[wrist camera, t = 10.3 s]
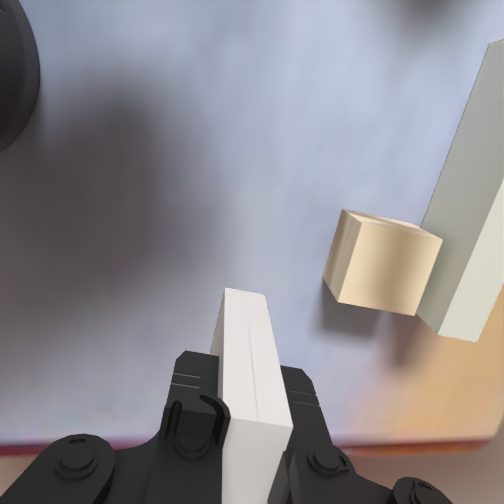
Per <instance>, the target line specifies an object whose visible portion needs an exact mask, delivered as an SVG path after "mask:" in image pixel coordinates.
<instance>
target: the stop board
mask: <svg viewBox="0 0 504 504" xmlns="http://www.w3.org/2000/svg"><path fill="white" fill-rule="evenodd" d="M421 229H423V230H425V231H427V232H429V233H431V234H433V235H435V236H436V237H438V238H440V239H442V240H443V241H442V244H441V247H440V249H439V252H438V255H437V257H436V260H435V263H434V265H433V268H432V271H431V273H430V276H429V278H428V281H427V284H426V286H425V289H424V292H423V294H422V297H421V300H420V302H419V305H418V308H417V310H416V314H417V315H418V316H419V317H420V318H421V319H422V320H423V321H424V322H425V323H426V324H427V325H428V326H429V327H430V328H431V329H432V330H433V331H434V332H435V333H436V334H437V335H442V336H447V337H452V338H457V339H462V340H467V341H473V342H477V340H478V338H479V336H480V334H481V331H482V329H483V327H484V325H485V323H486V321H487V318H488V316H489V314H490V312H491V310H492V308H493V305H494V303H495V301H496V299H497V297H498V294H499V292H500V290H501V288H502V286H503V284H504V39H502V40H499V41H496V42H493V43H490V44H489V47H488V49H487V52H486V55H485V57H484V60H483V63H482V65H481V68H480V71H479V73H478V76H477V79H476V81H475V84H474V87H473V89H472V92H471V95H470V97H469V100H468V103H467V105H466V108H465V111H464V113H463V116H462V119H461V121H460V124H459V127H458V129H457V132H456V135H455V137H454V140H453V143H452V145H451V148H450V151H449V153H448V156H447V159H446V161H445V164H444V167H443V169H442V172H441V175H440V178H439V180H438V183H437V186H436V188H435V191H434V194H433V196H432V199H431V202H430V204H429V207H428V210H427V212H426V215H425V218H424V220H423V223H422V226H421Z"/></svg>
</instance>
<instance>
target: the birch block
mask: <svg viewBox="0 0 504 504" xmlns="http://www.w3.org/2000/svg"><path fill="white" fill-rule="evenodd" d="M442 241H443V240H442V239H440V238H438V237H436V236H435V235H433V234H431V233H429V232H427V231H425V230H423V229H421V228H419V227H417V226H415V225H413V224H411V223H407V222H402V221H397V220H392V219H388V218H383V217H378V216H373V215H369V214H364V213H359V212H354V211H350V210H345V209H342V212H341V215H340V219H339V222H338V226H337V229H336V232H335V236H334V239H333V243H332V246H331V250H330V253H329V257H328V260H327V264H326V267H325V270H324V274H323V277H322V278H323V279H324V281H325V282H326V284H327V286H328V287H329V289H330V290H331V292H332V294H333V295H334V297H335V298H336V300H337V302H340V303H345V304H351V305H357V306H362V307H368V308H373V309H379V310H384V311H390V312H395V313H401V314H406V315H412V316H415V313H416V310H417V308H418V305H419V302H420V300H421V297H422V294H423V292H424V289H425V286H426V284H427V281H428V278H429V276H430V273H431V271H432V268H433V265H434V263H435V260H436V257H437V255H438V252H439V249H440V247H441V244H442Z"/></svg>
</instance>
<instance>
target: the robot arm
mask: <svg viewBox="0 0 504 504" xmlns="http://www.w3.org/2000/svg"><path fill="white" fill-rule="evenodd" d="M38 82H39V64H38V55H37V49H36V44H35V40H34V36H33V33H32V30H31V26H30V24H29V21H28V19H27V16H26V14H25V12H24V10H23V8H22V6H21V4H20V2H19V0H0V152H1V151H2V150H4V149H5V148H6V147H7V146H9V145H10V144H11V143H12V142H13V141H14V140H15V139H16V138H17V136H18V135H19V134H20V133H21V131H22V130H23V128H24V127H25V125H26V123H27V121H28V119H29V117H30V115H31V113H32V110H33V107H34V104H35V100H36V96H37V91H38ZM0 504H452V502H451V501H450V500H449V499H448V498H447V497H446V496H445V495H444V494H443V493H442V492H441V491H440V490H438V489H437V488H435V487H434V486H432V485H431V484H429V483H428V482H425V481H423V480H420V479H418V478H413V477H403V478H401V479H398V480H397V482H396V483H395V485H394V487H393V489H392V490H391V489H389V488H387V487H384V486H382V485H379V484H377V483H375V482H372V481H370V480H367V479H365V478H363V477H361V476H360V475H358V474H356V472H355V469H354V467H353V465H352V463H351V461H350V460H349V458H348V457H347V456H346V455H345V454H344V453H343V452H342V451H341V450H340V449H339V448H337V447H336V446H334V445H333V444H332V441H331V438H330V435H329V432H328V429H327V426H326V423H325V420H324V417H323V414H322V411H321V407H319V401H318V398H317V396H316V392H315V389H314V386H313V383H312V381H311V379H310V378H309V377H308V376H307V375H306V374H305V372H304V371H303V370H302V369H298V368H293V367H287V366H281V365H280V364H279V359H278V355H277V350H276V345H275V341H274V336H273V332H272V327H271V322H270V318H269V313H268V308H267V304H266V299H265V295H262V294H256V293H251V292H246V291H241V290H236V289H231V288H226V287H225V289H224V294H223V298H222V302H221V306H220V311H219V315H218V319H217V324H216V328H215V332H214V337H213V341H212V345H211V349H210V355H209V354H203V353H197V352H191V351H185V352H183V353H182V354H181V355H180V356H179V357H178V358H177V359H176V362H175V367H174V371H173V376H172V380H171V385H170V389H169V394H168V398H167V403H166V405H165V407H164V412H163V417H162V422H161V427H160V430H159V431H158V432H157V434H156V435H155V436H154V437H153V438H152V439H150V440H149V441H148V442H146V443H144V444H142V445H139V446H137V447H132V448H128V449H122V450H113V448H112V447H111V446H110V444H109V443H108V442H107V441H105V440H104V439H102V438H100V437H98V436H95V435H89V434H77V435H69V436H66V437H64V438H62V439H59V440H57V441H55V442H53V443H52V444H51V445H49V446H48V447H47V448H46V449H44V450H43V451H42V452H41V453H40V454H39V456H38V457H37V458H36V459H35V460H34V461H33V462H32V463H31V464H30V466H28V468H27V469H26V470H25V471H24V472H23V473H22V474H21V475H20V476H19V477H18V479H16V481H15V482H14V483H13V484H12V485H11V486H10V487H9V488H8V489H7V490H6V492H5V493H4V494H3V495H2V496H1V497H0Z"/></svg>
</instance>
